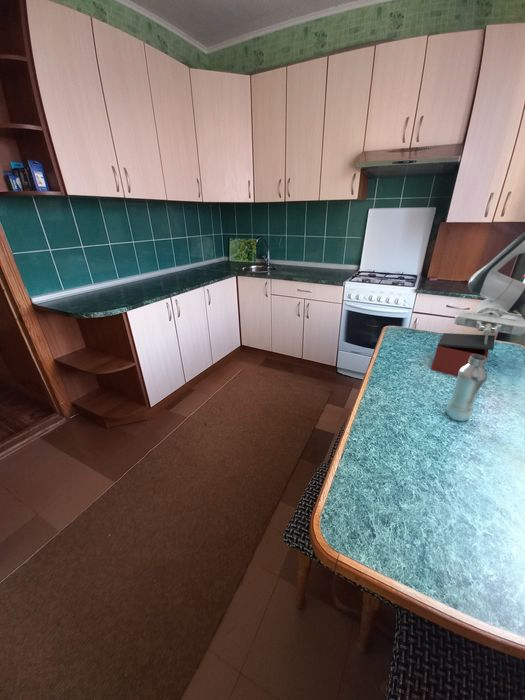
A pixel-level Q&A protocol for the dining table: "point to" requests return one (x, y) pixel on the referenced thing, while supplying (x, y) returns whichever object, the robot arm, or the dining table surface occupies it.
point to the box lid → (469, 340)
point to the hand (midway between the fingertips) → (487, 329)
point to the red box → (454, 358)
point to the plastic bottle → (467, 388)
